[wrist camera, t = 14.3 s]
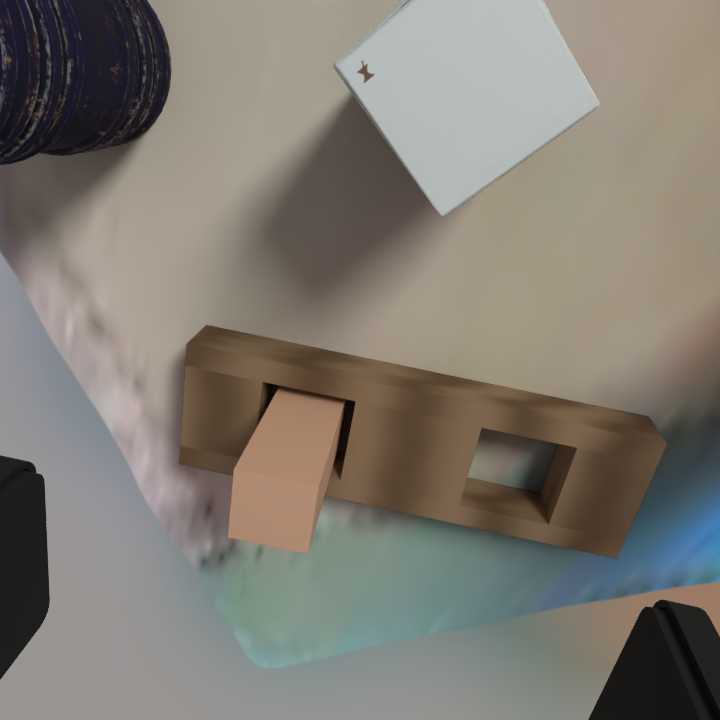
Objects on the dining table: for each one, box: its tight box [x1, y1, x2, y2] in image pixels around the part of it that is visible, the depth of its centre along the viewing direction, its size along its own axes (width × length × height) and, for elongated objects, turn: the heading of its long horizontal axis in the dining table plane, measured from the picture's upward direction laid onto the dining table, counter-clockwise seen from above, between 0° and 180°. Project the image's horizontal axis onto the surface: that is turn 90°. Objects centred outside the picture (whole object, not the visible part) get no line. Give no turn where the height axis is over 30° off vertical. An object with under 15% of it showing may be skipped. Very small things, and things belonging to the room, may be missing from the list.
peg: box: [228, 386, 347, 554], centre depth 37 cm, size 4×4×12 cm
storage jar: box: [0, 0, 171, 165], centre depth 29 cm, size 10×10×15 cm
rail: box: [179, 325, 667, 559], centre depth 41 cm, size 30×9×4 cm, turn 80°
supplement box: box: [334, 0, 600, 217], centre depth 28 cm, size 7×7×13 cm
